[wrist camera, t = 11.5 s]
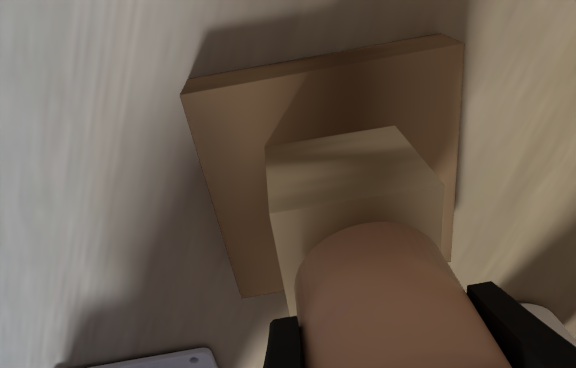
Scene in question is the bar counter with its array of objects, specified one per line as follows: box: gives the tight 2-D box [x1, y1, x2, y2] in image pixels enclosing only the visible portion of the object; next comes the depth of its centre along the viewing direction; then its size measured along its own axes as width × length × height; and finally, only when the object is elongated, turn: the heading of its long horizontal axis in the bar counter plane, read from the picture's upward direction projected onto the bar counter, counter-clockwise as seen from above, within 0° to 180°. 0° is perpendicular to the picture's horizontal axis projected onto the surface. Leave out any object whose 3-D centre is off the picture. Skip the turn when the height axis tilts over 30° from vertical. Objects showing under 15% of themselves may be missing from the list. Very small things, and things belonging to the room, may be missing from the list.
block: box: [264, 126, 445, 317], centre depth 14 cm, size 5×5×4 cm
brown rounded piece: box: [294, 222, 512, 368], centre depth 10 cm, size 4×4×4 cm
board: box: [180, 33, 465, 298], centre depth 17 cm, size 10×10×2 cm
